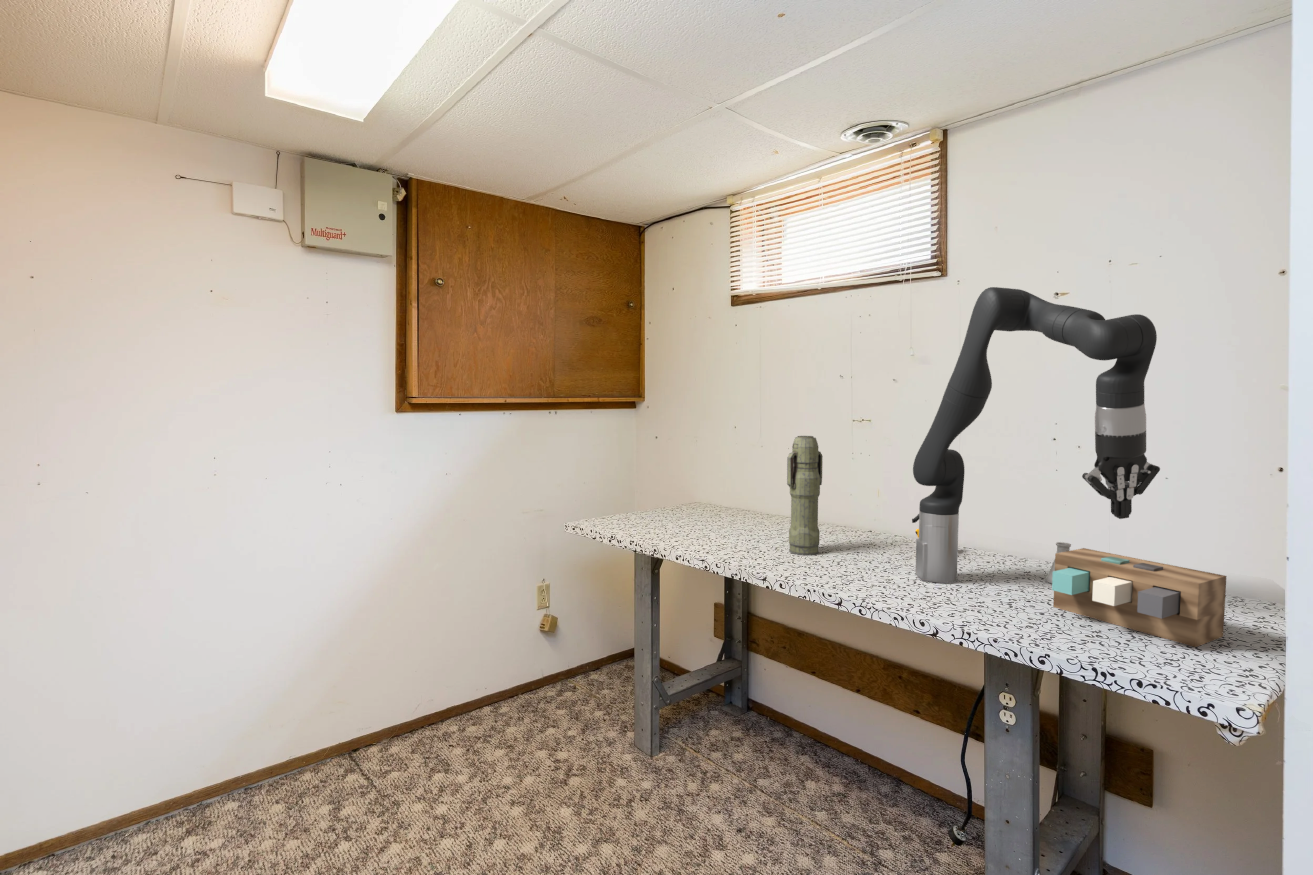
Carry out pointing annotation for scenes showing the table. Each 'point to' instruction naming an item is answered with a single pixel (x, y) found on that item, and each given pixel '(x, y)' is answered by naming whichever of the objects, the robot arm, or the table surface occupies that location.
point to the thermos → (804, 495)
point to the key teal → (1071, 581)
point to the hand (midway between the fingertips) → (1121, 516)
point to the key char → (1159, 602)
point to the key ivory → (1112, 591)
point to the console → (1197, 588)
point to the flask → (1060, 548)
